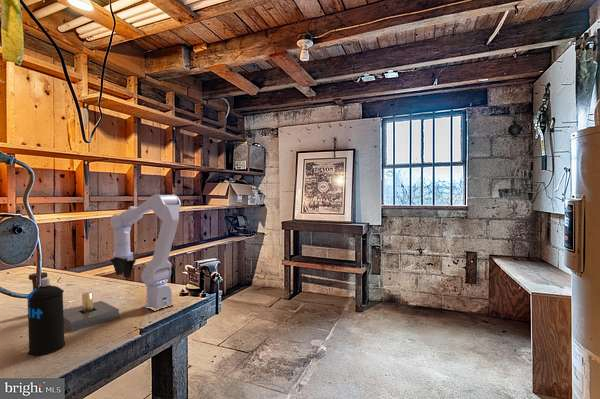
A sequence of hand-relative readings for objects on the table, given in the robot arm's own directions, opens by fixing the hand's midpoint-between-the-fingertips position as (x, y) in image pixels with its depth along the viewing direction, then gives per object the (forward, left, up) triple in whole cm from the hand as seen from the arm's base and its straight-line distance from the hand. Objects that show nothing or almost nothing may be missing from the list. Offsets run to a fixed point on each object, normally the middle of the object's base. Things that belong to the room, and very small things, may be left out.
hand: (123, 276), depth 128 cm
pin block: (-10, +16, -10) cm, 22 cm away
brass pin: (-10, +16, -10) cm, 22 cm away
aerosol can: (-26, +31, -11) cm, 42 cm away
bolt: (+12, +25, -11) cm, 30 cm away
